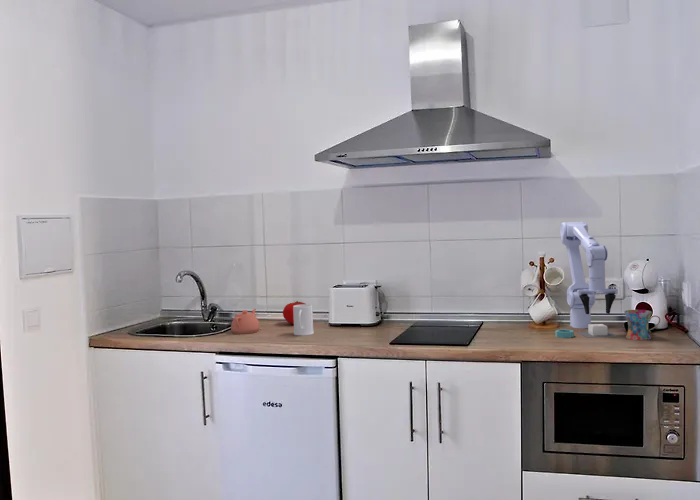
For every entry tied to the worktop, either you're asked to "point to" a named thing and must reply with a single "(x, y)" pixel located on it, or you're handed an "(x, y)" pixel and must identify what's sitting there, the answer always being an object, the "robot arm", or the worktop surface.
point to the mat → (597, 336)
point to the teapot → (245, 323)
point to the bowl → (564, 333)
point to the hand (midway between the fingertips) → (597, 313)
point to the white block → (597, 329)
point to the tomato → (290, 311)
